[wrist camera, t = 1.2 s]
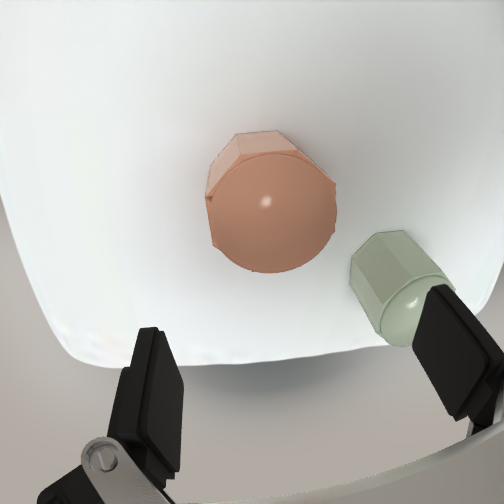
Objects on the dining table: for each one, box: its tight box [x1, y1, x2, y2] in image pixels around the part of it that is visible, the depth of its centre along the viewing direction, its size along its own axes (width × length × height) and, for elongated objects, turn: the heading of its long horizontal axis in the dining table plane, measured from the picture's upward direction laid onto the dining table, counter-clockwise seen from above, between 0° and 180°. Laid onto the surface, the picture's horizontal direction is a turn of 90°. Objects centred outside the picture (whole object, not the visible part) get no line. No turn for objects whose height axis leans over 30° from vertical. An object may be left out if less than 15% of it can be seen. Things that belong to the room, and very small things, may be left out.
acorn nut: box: [350, 230, 456, 347], centre depth 27 cm, size 8×8×8 cm
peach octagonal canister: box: [205, 131, 337, 273], centre depth 22 cm, size 8×8×8 cm
